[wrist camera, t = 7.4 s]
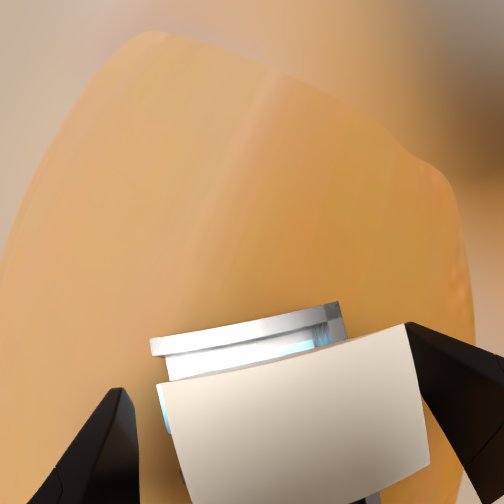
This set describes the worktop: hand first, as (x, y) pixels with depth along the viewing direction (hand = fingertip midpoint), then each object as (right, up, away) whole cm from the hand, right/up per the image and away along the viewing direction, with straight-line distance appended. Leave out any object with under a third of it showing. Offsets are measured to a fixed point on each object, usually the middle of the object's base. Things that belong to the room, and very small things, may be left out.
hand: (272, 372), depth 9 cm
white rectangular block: (0, -4, +7) cm, 8 cm away
